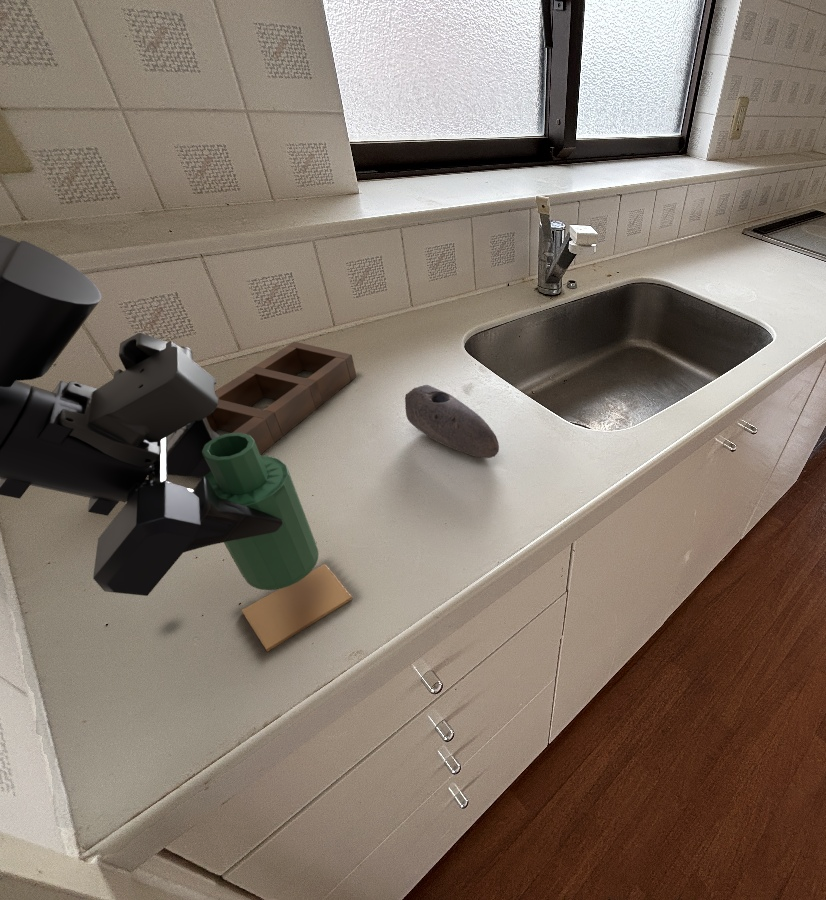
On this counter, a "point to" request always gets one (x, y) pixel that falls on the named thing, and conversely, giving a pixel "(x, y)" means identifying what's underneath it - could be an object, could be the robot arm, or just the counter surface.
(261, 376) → the brown compartment tray
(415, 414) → the perforated stone tool
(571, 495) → the counter surface
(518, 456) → the counter surface
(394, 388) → the counter surface
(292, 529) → the bottle
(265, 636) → the cork trivet
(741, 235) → the counter surface
